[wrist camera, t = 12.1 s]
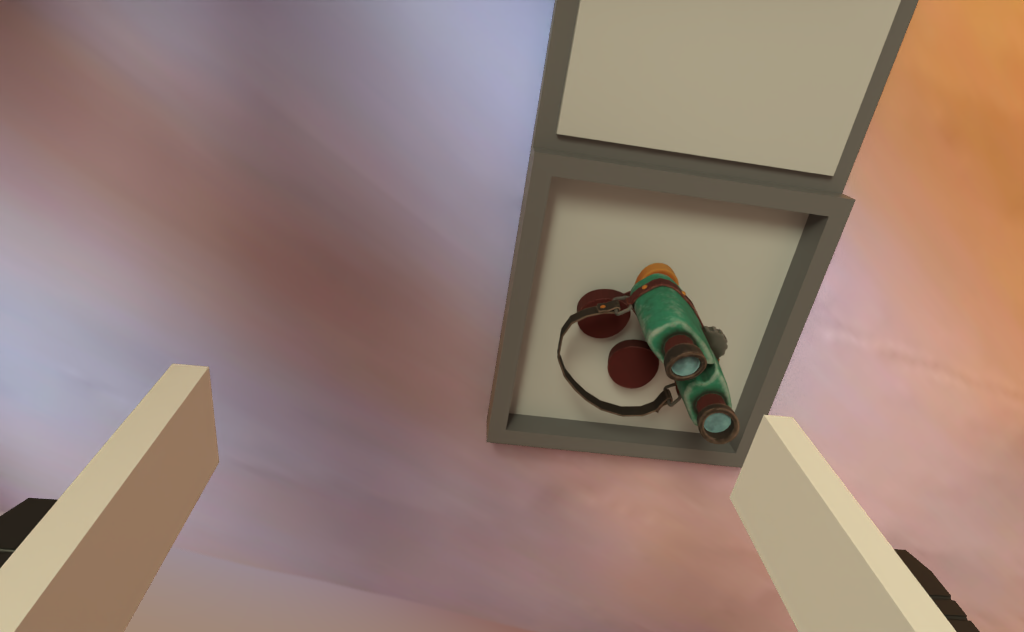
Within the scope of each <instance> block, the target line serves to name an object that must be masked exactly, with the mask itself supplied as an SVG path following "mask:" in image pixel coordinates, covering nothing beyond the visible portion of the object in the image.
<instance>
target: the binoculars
mask: <svg viewBox="0 0 1024 632" xmlns="http://www.w3.org/2000/svg"><path fill="white" fill-rule="evenodd" d="M631 309H632V310H633V312H634V313H635V314H636V316H637V318H638V321H639V324H640V326H641V329H642V332H643V334H644V337H645V340H646V341H647V342H646V341H642V340H635V339H630V340H624V341H621V342H619V343H617V344H616V345H615V346H614V347H613V348H612V349H611V351H610V353H609V356H608V366H607V369H608V373H609V376H610V377H611V379H612V380H613V381H614V382H615V383H616V384H618V385H619V386H622V387H625V388H630V389H633V388H639V387H642V386H644V385H646V384H647V383H649V382H650V381H651V380H652V379H653V378H654V376H655V375H656V373H657V371H658V368H659V360H660V361H661V362H662V363H663V365H664V367H665V372H666V375H667V376H668V377H669V378H670V379H672V380H674V382H675V383H672V384H669V385H666V386H665V387H664V389H663V390H664V391H662V392H661V393H660V394H659V395H658V397H657V398H656V399H655V400H654V401H653V402H650V403H647V404H645V405H642V406H618V405H615V404H611V403H608V402H604V401H601V400H599V399H598V398H596V397H595V396H593V395H591V394H590V393H588V392H587V391H585V390H584V389H583V388H582V387H581V386H580V385H579V384H578V383H577V382H576V381H575V380H574V379H573V377H572V376H571V375H570V374H569V372H568V371H567V370H566V369H565V366H564V363H563V361H562V358H561V355H560V351H561V346H562V340H563V336H564V335H565V334H566V332H567V331H568V329H569V328H570V327H571V325H572V324H574V323H576V322H578V326H579V328H580V329H581V330H582V332H583V333H585V334H586V335H588V336H590V337H593V338H608V337H612V336H614V335H616V334H618V333H619V332H620V331H622V330H623V328H624V327H625V326H626V325H627V323H628V322H629V319H630V316H631ZM727 342H728V341H727V338H726V336H725V334H723V332H722V330H720V329H716V327H714V326H712V327H708V326H704V325H703V323H702V321H701V319H700V317H699V315H698V313H697V311H696V309H695V307H694V305H693V303H692V301H691V300H690V299H689V298H688V297H687V296H686V293H685V292H684V291H682V289H681V288H680V287H679V282H678V279H677V277H676V275H675V273H674V271H673V270H672V269H671V267H669V266H668V265H666V264H663V263H653V264H651V265H648V266H647V267H645V268H644V269H643V270H642V271H641V272H640V274H639V275H638V277H637V279H636V282H635V284H634V286H633V287H632V289H631V291H628V292H626V293H622V292H620V291H617V290H613V289H597V290H593V291H590V292H588V293H586V294H585V295H584V296H583V297H582V298H581V299H580V300H579V302H578V304H577V313H575V314H573V315H571V316H570V317H569V318H568V320H567V321H566V323H565V324H564V325H563V327H562V328H561V332H560V338H559V343H558V349H557V359H558V362H559V365H560V367H561V370H562V373H563V376H564V378H565V379H566V380H567V382H568V383H569V384H570V385H571V387H572V388H573V389H574V390H575V391H576V392H577V393H578V394H579V395H580V396H581V397H582V398H583V399H584V400H585V401H587V402H588V403H590V404H592V405H593V406H595V407H596V408H598V409H599V410H601V411H605V412H608V413H611V414H615V415H618V416H622V417H634V416H645V415H648V414H651V413H653V412H657V413H658V412H659V410H660V409H661V408H662V407H663V406H665V405H668V406H670V407H673V406H674V405H675V404H676V403H677V402H679V401H680V400H681V398H682V400H683V402H684V404H685V407H686V409H687V412H688V414H689V417H690V418H691V420H692V422H693V423H694V424H695V425H696V426H698V429H699V432H700V434H701V436H702V437H703V438H704V439H705V440H706V441H708V442H710V443H713V444H726V443H728V442H730V441H732V440H733V439H734V438H735V437H736V436H737V435H738V432H739V428H740V424H739V420H738V418H737V416H736V414H735V413H734V411H733V410H732V403H731V397H730V393H729V389H728V386H727V382H726V380H725V377H724V375H723V372H722V369H721V367H720V364H719V360H720V359H719V358H720V357H721V356H723V355H724V354H725V351H726V349H727V348H728V345H727ZM673 386H676V387H675V389H676V392H677V395H678V398H677V399H675V400H674V401H673V398H672V395H671V392H670V390H669V389H668V388H670V387H673Z"/></svg>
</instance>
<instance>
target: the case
mask: <svg viewBox="0 0 1024 632" xmlns="http://www.w3.org/2000/svg"><path fill="white" fill-rule="evenodd" d="M917 3H918V0H555V4H554V10H553V16H552V22H551V28H550V34H549V41H548V47H547V53H546V59H545V65H544V71H543V77H542V84H541V90H540V96H539V102H538V108H537V114H536V121H535V127H534V133H533V139H532V145H531V151H530V157H529V164H528V170H527V176H526V182H525V188H524V194H523V201H522V207H521V213H520V219H519V225H518V231H517V237H516V244H515V250H514V256H513V262H512V268H511V274H510V281H509V287H508V293H507V299H506V305H505V311H504V318H503V324H502V330H501V336H500V342H499V348H498V354H497V361H496V367H495V373H494V379H493V385H492V391H491V398H490V404H489V410H488V416H487V442H491V443H501V444H511V445H521V446H531V447H541V448H551V449H561V450H571V451H581V452H591V453H601V454H611V455H621V456H631V457H641V458H651V459H661V460H671V461H681V462H691V463H701V464H711V465H721V466H731V467H741V468H742V466H743V464H744V461H745V459H746V457H747V454H748V452H749V449H750V447H751V444H752V442H753V440H754V437H755V435H756V432H757V430H758V427H759V425H760V423H761V420H762V418H763V415H768V413H769V411H770V408H771V406H772V404H773V401H774V399H775V396H776V394H777V391H778V389H779V386H780V384H781V381H782V379H783V376H784V374H785V372H786V369H787V367H788V364H789V362H790V359H791V357H792V354H793V352H794V349H795V347H796V345H797V342H798V340H799V337H800V335H801V332H802V330H803V327H804V325H805V322H806V320H807V318H808V315H809V313H810V310H811V308H812V305H813V303H814V300H815V298H816V295H817V293H818V291H819V288H820V286H821V283H822V281H823V278H824V276H825V273H826V271H827V268H828V266H829V264H830V261H831V259H832V256H833V254H834V251H835V249H836V246H837V244H838V241H839V239H840V237H841V234H842V232H843V229H844V227H845V224H846V222H847V219H848V217H849V214H850V212H851V210H852V207H853V205H854V202H855V199H853V198H851V197H848V196H846V195H844V194H842V192H843V190H844V187H845V185H846V182H847V180H848V177H849V175H850V172H851V169H852V167H853V164H854V162H855V159H856V157H857V154H858V152H859V149H860V147H861V144H862V142H863V139H864V137H865V134H866V132H867V129H868V127H869V124H870V121H871V119H872V116H873V114H874V111H875V109H876V106H877V104H878V101H879V99H880V96H881V94H882V91H883V89H884V86H885V84H886V81H887V78H888V76H889V73H890V71H891V68H892V66H893V63H894V61H895V58H896V56H897V53H898V51H899V48H900V46H901V43H902V41H903V38H904V36H905V33H906V30H907V28H908V25H909V23H910V20H911V18H912V15H913V13H914V10H915V8H916V5H917ZM653 263H663V264H666V265H668V266H669V267H671V269H672V270H673V271H674V273H675V275H676V277H677V279H678V282H679V287H680V288H681V289H682V291H684V292H685V293H686V296H687V297H688V298H689V299H690V300H691V301H692V303H693V305H694V307H695V309H696V311H697V313H698V315H699V317H700V319H701V321H702V323H703V325H704V326H708V327H712V326H714V327H716V329H720V330H722V332H723V334H725V336H726V338H727V341H728V342H727V345H728V348H727V349H726V351H725V354H724V355H723V356H721V357H720V358H719V359H720V360H719V364H720V367H721V369H722V372H723V375H724V377H725V380H726V382H727V386H728V389H729V393H730V397H731V403H732V410H733V411H734V413H735V414H736V416H737V418H738V420H739V424H740V428H739V432H738V435H737V436H736V437H735V438H734V439H733V440H732V441H730V442H728V443H726V444H713V443H710V442H708V441H706V440H705V439H704V438H703V437H702V436H701V434H700V432H699V429H698V426H696V425H695V424H694V423H693V422H692V420H691V418H690V417H689V414H688V412H687V409H686V407H685V404H684V402H683V400H682V398H681V400H680V401H679V402H677V403H676V404H675V405H674V406H673V407H670V406H668V405H665V406H663V407H662V408H661V409H660V410H659V412H658V413H657V412H653V413H651V414H648V415H645V416H634V417H622V416H618V415H615V414H611V413H608V412H605V411H601V410H599V409H598V408H596V407H595V406H593V405H592V404H590V403H588V402H587V401H585V400H584V399H583V398H582V397H581V396H580V395H579V394H578V393H577V392H576V391H575V390H574V389H573V388H572V387H571V385H570V384H569V383H568V382H567V380H566V379H565V378H564V376H563V373H562V370H561V367H560V365H559V362H558V359H557V349H558V343H559V338H560V332H561V328H562V327H563V325H564V324H565V323H566V321H567V320H568V318H569V317H570V316H571V315H573V314H575V313H577V304H578V302H579V300H580V299H581V298H582V297H583V296H584V295H585V294H586V293H588V292H590V291H593V290H597V289H613V290H617V291H620V292H622V293H626V292H628V291H631V289H632V287H633V286H634V284H635V282H636V279H637V277H638V275H639V274H640V272H641V271H642V270H643V269H644V268H645V267H647V266H648V265H651V264H653ZM630 339H635V340H642V341H646V340H645V337H644V334H643V332H642V329H641V326H640V324H639V321H638V318H637V316H636V314H635V313H634V312H633V310H632V309H631V316H630V319H629V322H628V323H627V325H626V326H625V327H624V328H623V330H622V331H620V332H619V333H618V334H616V335H614V336H612V337H608V338H593V337H590V336H588V335H586V334H585V333H583V332H582V330H581V329H580V328H579V326H578V322H576V323H574V324H572V325H571V327H570V328H569V329H568V331H567V332H566V334H565V335H564V336H563V340H562V346H561V351H560V355H561V358H562V361H563V363H564V366H565V369H566V370H567V371H568V372H569V374H570V375H571V376H572V377H573V379H574V380H575V381H576V382H577V383H578V384H579V385H580V386H581V387H582V388H583V389H584V390H585V391H587V392H588V393H590V394H591V395H593V396H595V397H596V398H598V399H599V400H601V401H604V402H608V403H611V404H615V405H618V406H642V405H645V404H647V403H650V402H653V401H654V400H655V399H656V398H657V397H658V395H659V394H660V393H661V392H662V391H664V390H663V389H664V387H665V386H666V385H669V384H672V383H675V382H674V380H672V379H670V378H669V377H668V376H667V375H666V372H665V367H664V365H663V363H662V362H661V361H660V360H659V368H658V371H657V373H656V375H655V376H654V378H653V379H652V380H651V381H650V382H649V383H647V384H646V385H644V386H642V387H639V388H633V389H630V388H625V387H622V386H619V385H618V384H616V383H615V382H614V381H613V380H612V379H611V377H610V376H609V373H608V369H607V366H608V356H609V353H610V351H611V349H612V348H613V347H614V346H615V345H616V344H617V343H619V342H621V341H624V340H630ZM646 342H647V341H646ZM675 387H676V386H673V387H670V388H668V389H669V390H670V392H671V395H672V398H673V401H674V400H675V399H677V398H678V395H677V392H676V389H675Z"/></svg>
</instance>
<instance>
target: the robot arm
mask: <svg viewBox="0 0 1024 632" xmlns="http://www.w3.org/2000/svg"><path fill="white" fill-rule="evenodd" d="M218 463H219V457H218V447H217V438H216V429H215V419H214V410H213V401H212V391H211V382H210V373H209V367H205V366H194V365H182V364H172V365H171V366H170V367H169V369H168V370H167V371H166V372H165V373H164V375H163V376H162V377H161V378H160V379H159V381H158V382H157V383H156V384H155V385H154V386H153V388H152V389H151V390H150V391H149V392H148V394H147V395H146V396H145V397H144V398H143V400H142V401H141V402H140V403H139V404H138V405H137V407H136V408H135V409H134V410H133V411H132V413H131V414H130V415H129V416H128V417H127V419H126V420H125V421H124V422H123V423H122V424H121V426H120V427H119V428H118V429H117V430H116V432H115V433H114V434H113V435H112V436H111V438H110V439H109V440H108V441H107V442H106V443H105V445H104V446H103V447H102V448H101V449H100V451H99V452H98V453H97V454H96V455H95V457H94V458H93V459H92V460H91V461H90V462H89V464H88V465H87V466H86V467H85V468H84V470H83V471H82V472H81V473H80V474H79V476H78V477H77V478H76V479H75V480H74V481H73V483H72V484H71V485H70V486H69V487H68V489H67V490H66V491H65V492H64V493H63V495H62V496H61V497H60V498H59V499H58V500H54V499H38V498H28V499H26V500H25V501H23V502H22V503H20V504H19V505H17V506H15V507H14V508H12V509H11V510H9V511H8V512H6V513H5V514H3V515H2V516H0V632H124V631H125V629H126V627H127V625H128V624H129V622H130V620H131V618H132V616H133V615H134V613H135V611H136V609H137V608H138V606H139V604H140V602H141V600H142V599H143V597H144V595H145V593H146V591H147V590H148V588H149V586H150V584H151V583H152V581H153V579H154V577H155V575H156V574H157V572H158V570H159V568H160V566H161V565H162V563H163V561H164V559H165V558H166V556H167V554H168V552H169V550H170V549H171V547H172V545H173V543H174V542H175V540H176V538H177V536H178V534H179V533H180V531H181V529H182V527H183V526H184V524H185V522H186V520H187V518H188V517H189V515H190V513H191V511H192V509H193V508H194V506H195V504H196V502H197V501H198V499H199V497H200V495H201V493H202V492H203V490H204V488H205V486H206V484H207V483H208V481H209V479H210V477H211V476H212V474H213V472H214V470H215V468H216V467H217V465H218ZM730 499H731V501H732V503H733V505H734V507H735V509H736V511H737V513H738V515H739V517H740V519H741V521H742V523H743V524H744V526H745V528H746V530H747V532H748V534H749V536H750V538H751V540H752V542H753V544H754V546H755V548H756V550H757V552H758V554H759V556H760V558H761V560H762V562H763V564H764V565H765V567H766V569H767V571H768V573H769V575H770V577H771V579H772V581H773V583H774V585H775V587H776V589H777V591H778V593H779V595H780V597H781V599H782V601H783V603H784V605H785V606H786V608H787V610H788V612H789V614H790V616H791V618H792V620H793V622H794V624H795V626H796V628H797V630H798V632H979V630H978V629H977V628H976V627H975V625H974V624H973V623H972V622H971V621H968V620H967V618H966V617H967V615H966V614H965V613H964V612H963V610H962V609H961V608H960V607H959V605H958V604H957V603H956V602H955V601H953V600H951V595H950V594H949V593H948V592H947V590H946V589H945V588H944V587H943V585H942V584H941V583H940V582H939V580H938V579H937V578H936V577H935V575H934V574H933V573H932V572H931V571H930V570H929V569H928V568H927V567H925V566H924V565H923V564H922V563H921V562H919V561H918V560H917V559H916V558H915V557H913V556H912V555H911V554H910V553H909V552H907V551H906V550H898V549H893V548H892V547H891V545H890V544H889V543H888V541H887V540H886V539H885V537H884V536H883V535H882V533H881V532H880V531H879V530H878V528H877V527H876V526H875V524H874V523H873V522H872V520H871V519H870V518H869V516H868V515H867V514H866V513H865V511H864V510H863V509H862V507H861V506H860V505H859V503H858V502H857V501H856V499H855V498H854V497H853V495H852V494H851V493H850V492H849V490H848V489H847V488H846V486H845V485H844V484H843V482H842V481H841V480H840V478H839V477H838V476H837V475H836V473H835V472H834V471H833V469H832V468H831V467H830V465H829V464H828V463H827V461H826V460H825V459H824V458H823V456H822V455H821V454H820V452H819V451H818V450H817V448H816V447H815V446H814V444H813V443H812V442H811V441H810V439H809V438H808V437H807V435H806V434H805V433H804V431H803V430H802V429H801V427H800V426H799V425H798V423H797V422H796V421H795V420H794V418H793V417H784V416H772V415H763V418H762V420H761V423H760V425H759V427H758V430H757V432H756V435H755V437H754V440H753V442H752V444H751V447H750V449H749V452H748V454H747V457H746V459H745V461H744V464H743V466H742V469H741V471H740V474H739V476H738V478H737V481H736V483H735V486H734V488H733V491H732V493H731V495H730Z"/></svg>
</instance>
